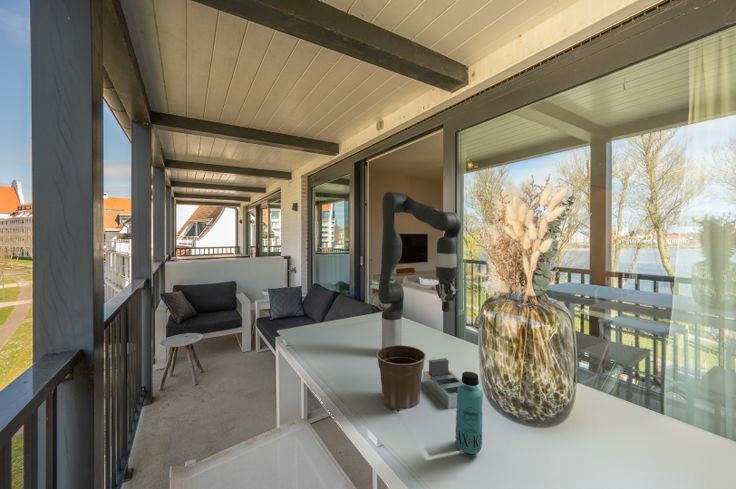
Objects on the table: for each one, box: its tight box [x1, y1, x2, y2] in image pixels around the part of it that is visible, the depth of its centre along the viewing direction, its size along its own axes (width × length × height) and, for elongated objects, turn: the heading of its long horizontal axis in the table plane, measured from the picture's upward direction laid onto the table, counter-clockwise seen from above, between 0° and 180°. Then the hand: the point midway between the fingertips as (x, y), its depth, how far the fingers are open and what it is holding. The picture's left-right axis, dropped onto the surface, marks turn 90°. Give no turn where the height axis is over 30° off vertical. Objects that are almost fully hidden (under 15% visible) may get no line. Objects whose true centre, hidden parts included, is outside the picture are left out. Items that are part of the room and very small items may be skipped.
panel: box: [428, 357, 449, 377], centre depth 110 cm, size 2×7×9 cm, turn 107°
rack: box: [422, 369, 464, 410], centre depth 105 cm, size 18×10×5 cm, turn 16°
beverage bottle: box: [455, 371, 484, 455], centre depth 77 cm, size 6×7×20 cm
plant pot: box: [375, 344, 427, 412], centre depth 100 cm, size 16×16×16 cm
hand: (445, 311), depth 114 cm, fingers closed
